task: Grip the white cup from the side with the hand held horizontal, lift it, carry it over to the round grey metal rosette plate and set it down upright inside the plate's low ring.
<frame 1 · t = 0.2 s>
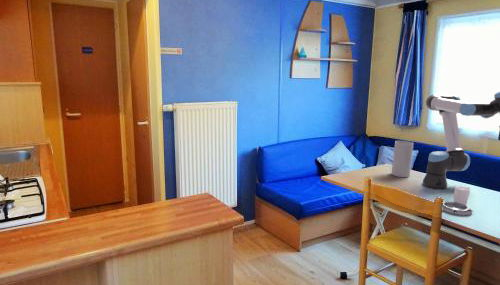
white cup: (459, 204, 211), on the table
rosette plate: (454, 210, 201), on the table
cylinder vase: (400, 175, 268), on the table
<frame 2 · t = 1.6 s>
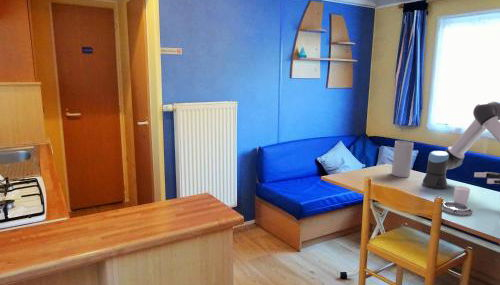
hand: (480, 177, 207), 17 cm above the table, tool horizontal, fingers open, 13 cm apart
nothing on the table moved.
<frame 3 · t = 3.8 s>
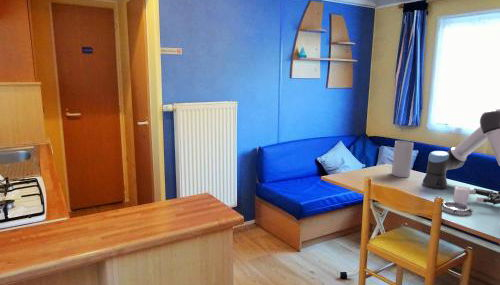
hand: (470, 195, 209), 6 cm above the table, tool horizontal, fingers open, 13 cm apart
nothing on the table moved.
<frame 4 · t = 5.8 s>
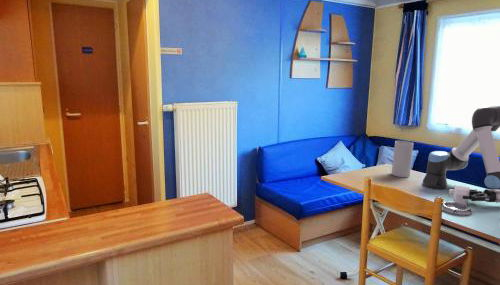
hand: (452, 193, 210), 6 cm above the table, tool horizontal, fingers closed on white cup, 8 cm apart
white cup: (459, 204, 211), on the table, touching gripper
everything else where it was.
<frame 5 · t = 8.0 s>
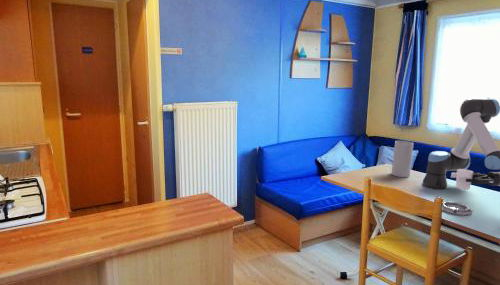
hand: (455, 177, 201), 18 cm above the table, tool horizontal, fingers closed on white cup, 8 cm apart
white cup: (462, 188, 202), point 12 cm above the table, touching gripper
everything else where it was.
when the fingers open (9 cm above the table, at t = 10.5 s): white cup drops 1 cm, resting on rosette plate.
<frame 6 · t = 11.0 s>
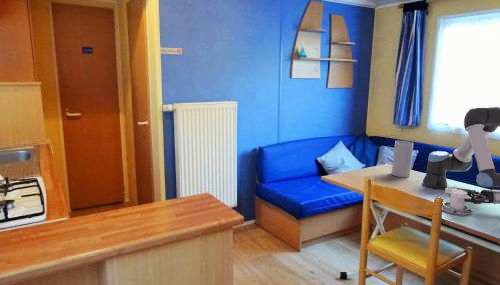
hand: (451, 194, 200), 9 cm above the table, tool horizontal, fingers open, 13 cm apart
white cup: (456, 209, 200), point 1 cm above the table, touching rosette plate
everything else where it was.
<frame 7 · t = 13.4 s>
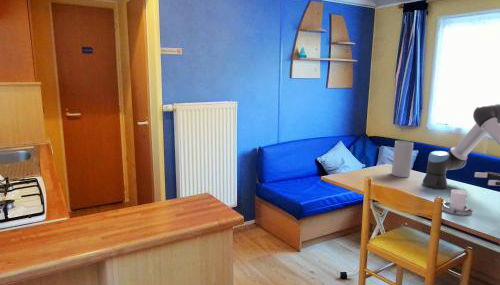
hand: (481, 178, 199), 19 cm above the table, tool horizontal, fingers open, 13 cm apart
nothing on the table moved.
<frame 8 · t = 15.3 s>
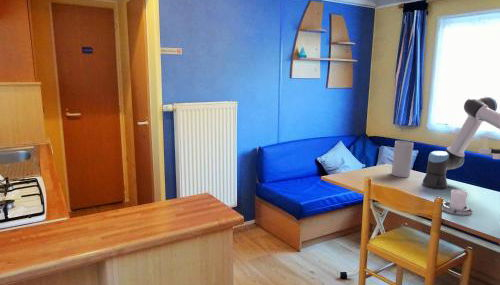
hand: (485, 153, 201), 32 cm above the table, tool horizontal, fingers open, 13 cm apart
nothing on the table moved.
at the end: white cup 1.4 cm from the rosette plate (horizontally); white cup tilted 0°; the gripper is holding nothing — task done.
